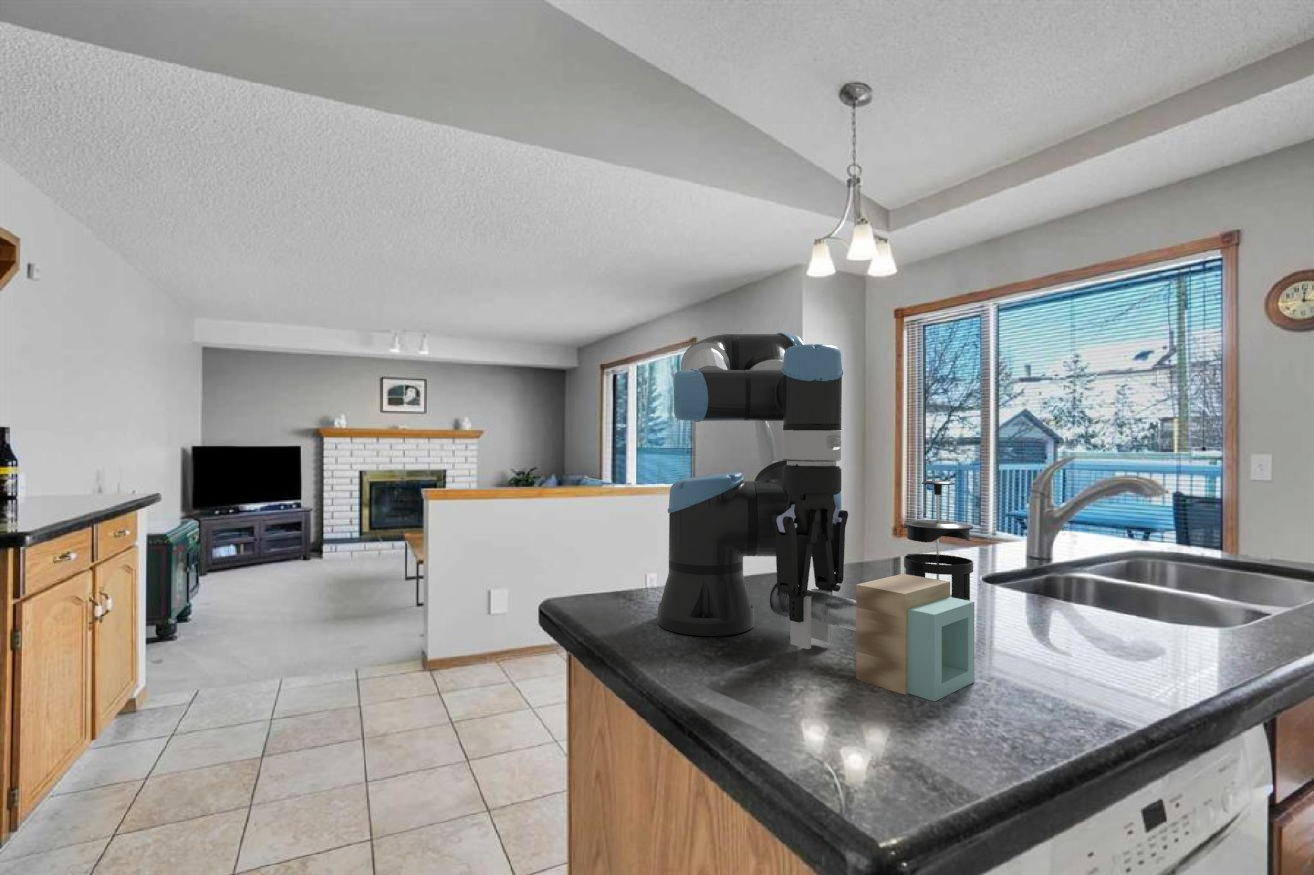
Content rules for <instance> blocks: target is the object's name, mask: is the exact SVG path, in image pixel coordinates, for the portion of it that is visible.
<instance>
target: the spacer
mask: <svg viewBox="0 0 1314 875" xmlns="http://www.w3.org/2000/svg"><path fill="white" fill-rule="evenodd" d="M975 671H976V670H975V601H973V600H970V601H968V600H963V599H957V598H952V597H946V598H943V599H939V600H936V601H933V602H929V603H926V604H923V605H919V606H916V607H913V608H909V609H908V694H910V695H912V696H916V697H918V698H922V699H925V700H927V701H928V700H929V701H931V702H937V701H938V700H941V699H943V698H945V697H947V696H949V695H951V694H953V693H954V692H955V693H956V692H957V691H959V690H961V689H963V688H965V687H967V686H969V685H972V684H973V683H975V680H976V679H975V676H976V674H975Z"/></svg>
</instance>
